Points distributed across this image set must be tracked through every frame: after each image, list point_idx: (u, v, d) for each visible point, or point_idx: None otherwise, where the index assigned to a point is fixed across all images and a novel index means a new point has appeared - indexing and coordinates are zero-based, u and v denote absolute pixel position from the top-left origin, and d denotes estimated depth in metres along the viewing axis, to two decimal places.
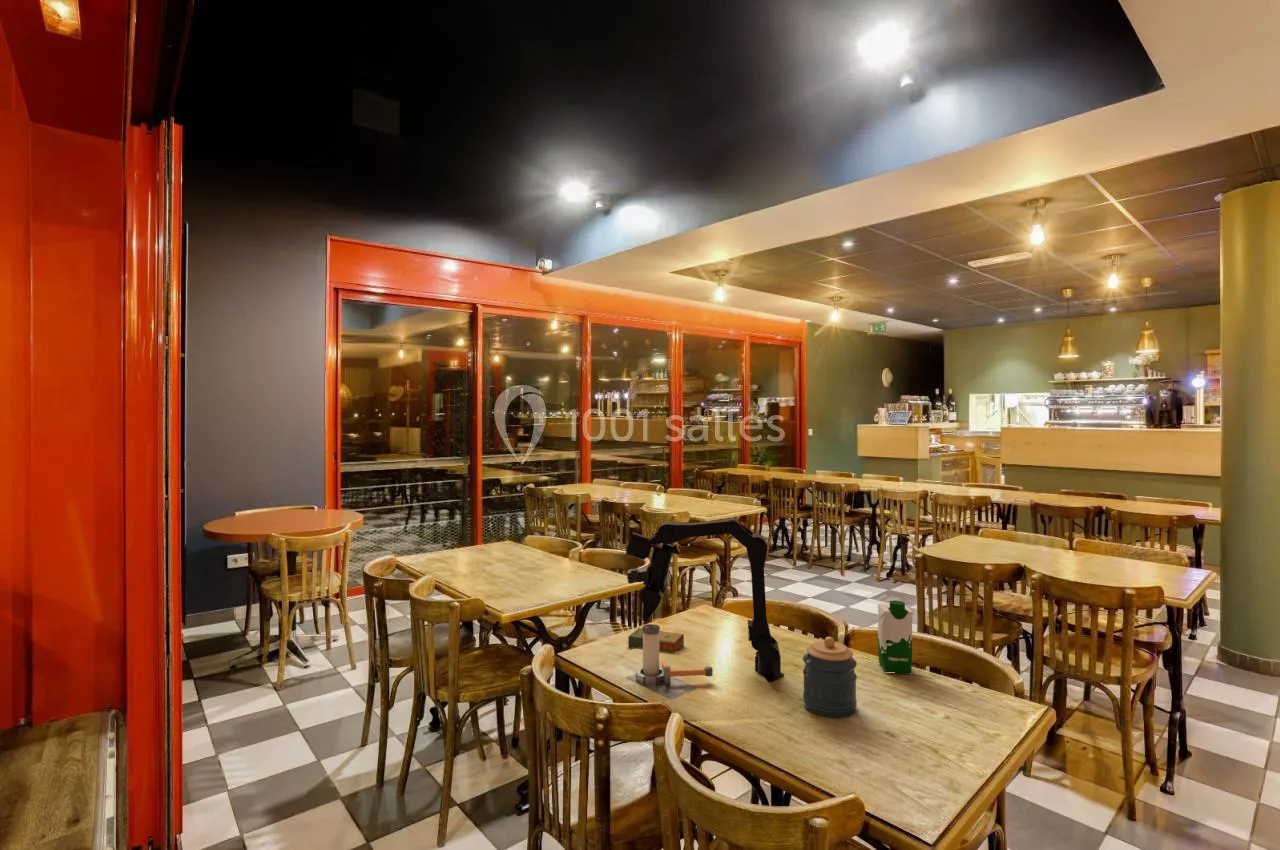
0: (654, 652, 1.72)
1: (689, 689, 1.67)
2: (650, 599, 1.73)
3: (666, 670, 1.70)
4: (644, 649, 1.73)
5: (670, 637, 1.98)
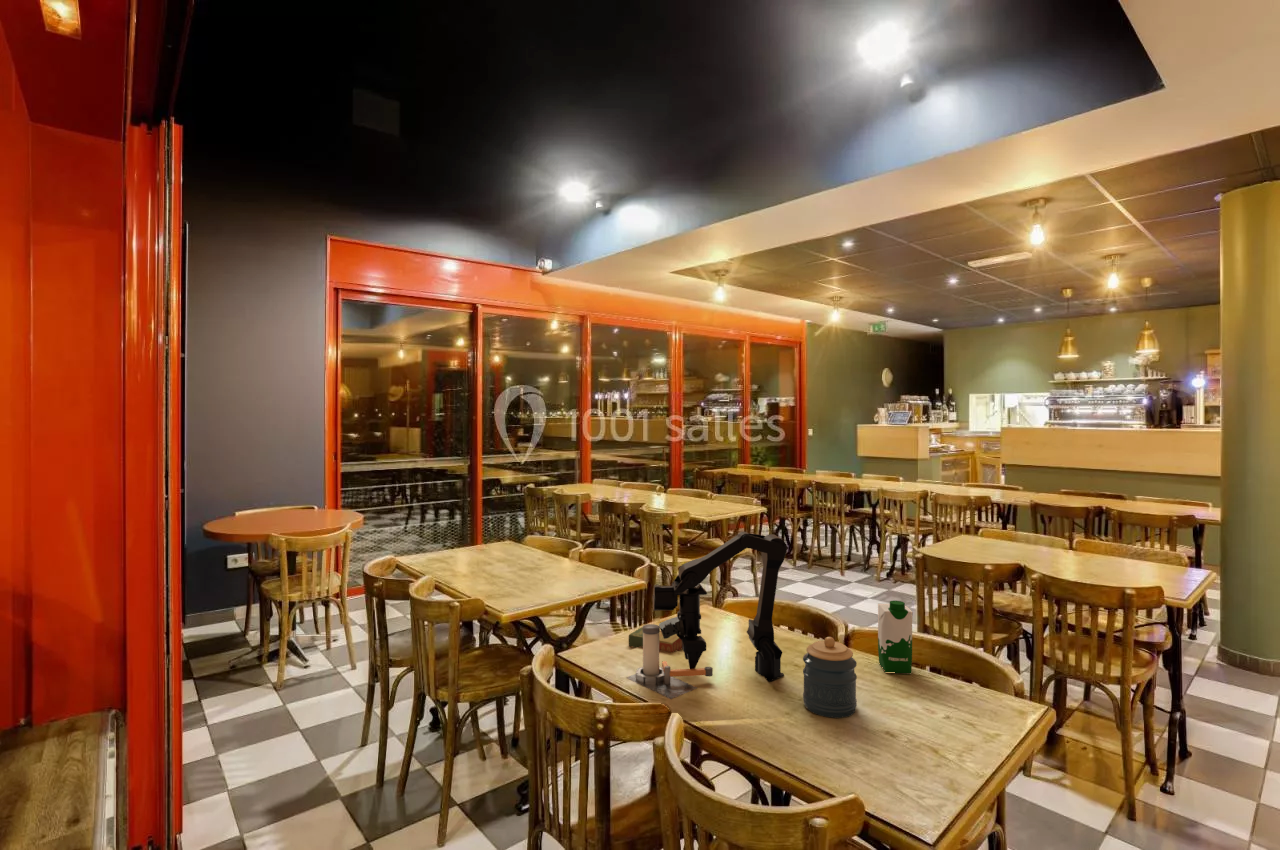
0: (654, 652, 1.72)
1: (689, 689, 1.67)
2: (696, 649, 1.67)
3: (666, 670, 1.70)
4: (644, 649, 1.73)
5: (669, 637, 1.98)
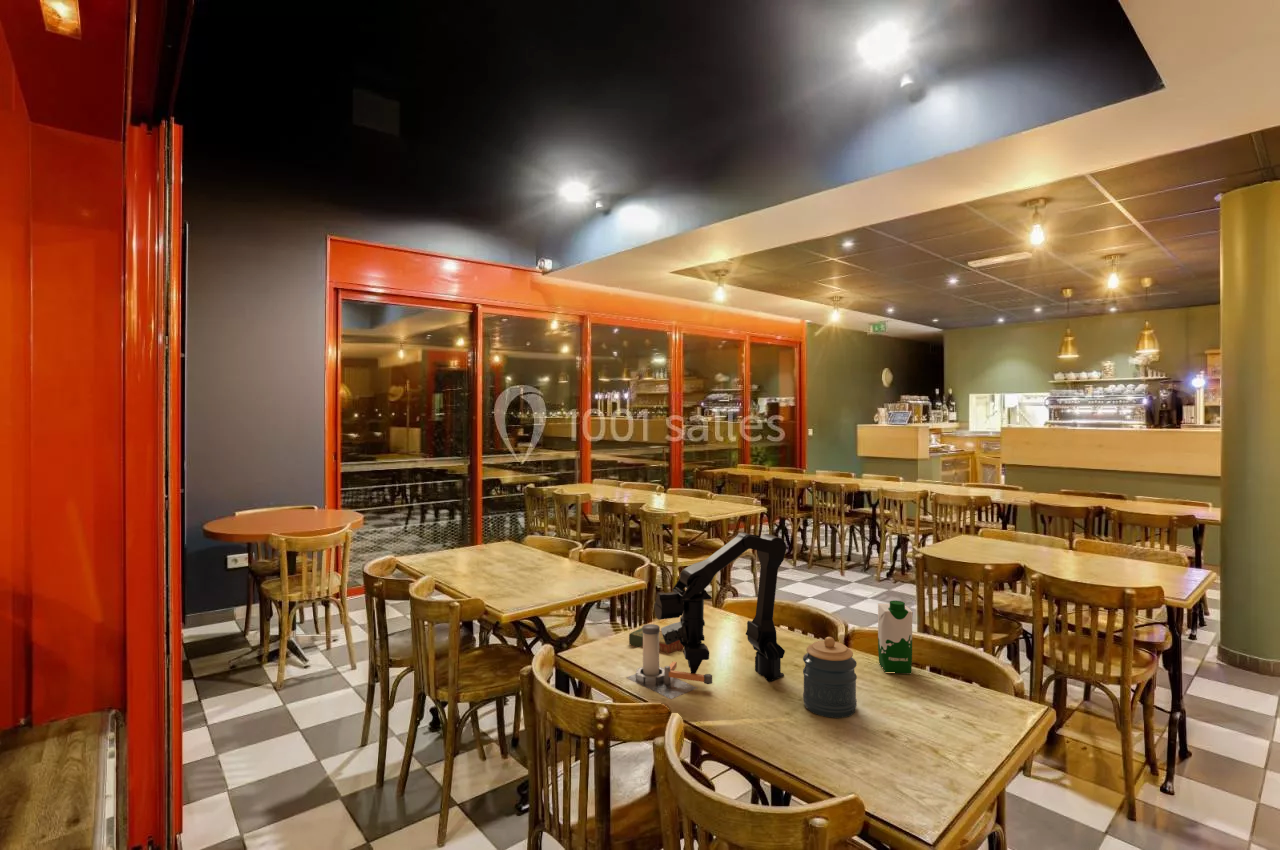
0: (654, 652, 1.72)
1: (689, 689, 1.67)
2: (699, 657, 1.62)
3: (665, 670, 1.70)
4: (644, 649, 1.73)
5: None
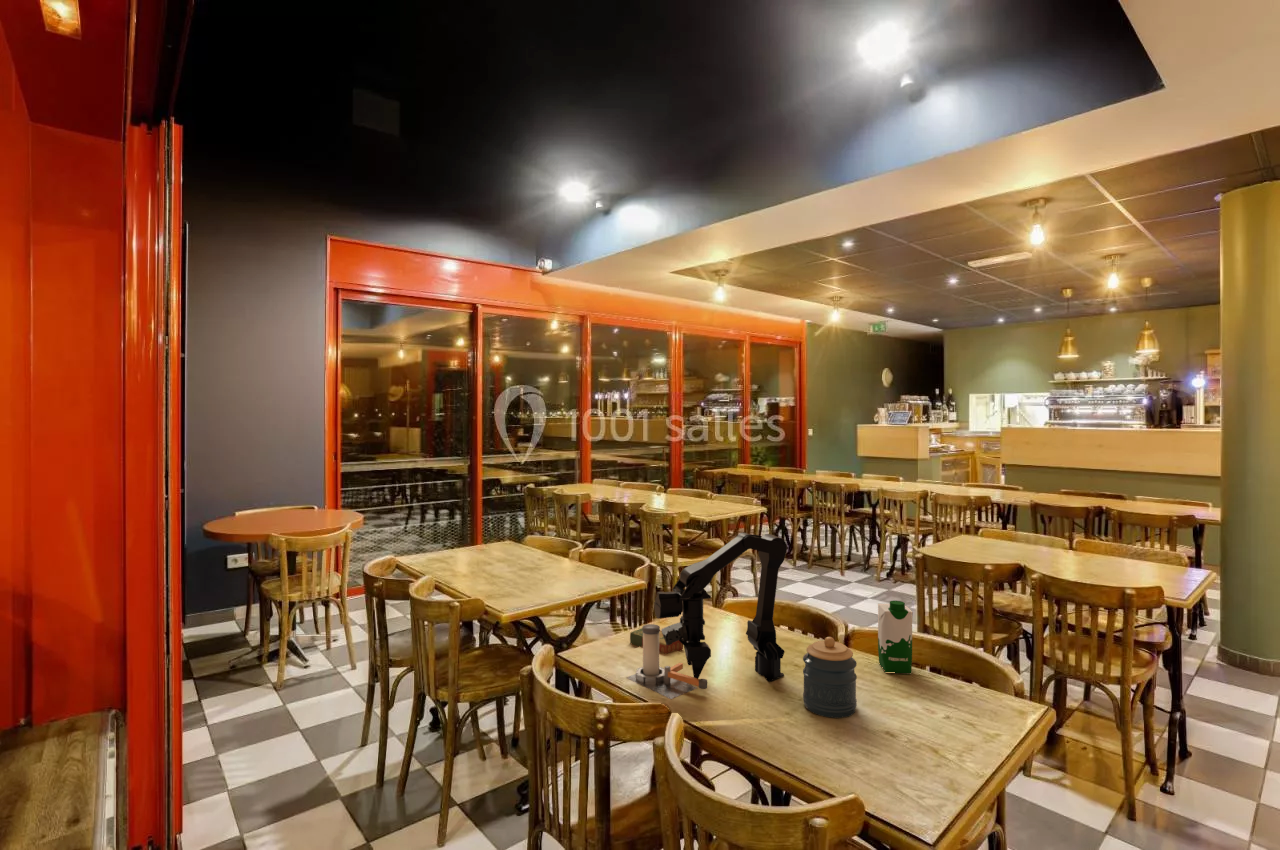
0: (654, 652, 1.72)
1: (689, 689, 1.67)
2: (700, 655, 1.62)
3: None
4: (644, 649, 1.73)
5: None
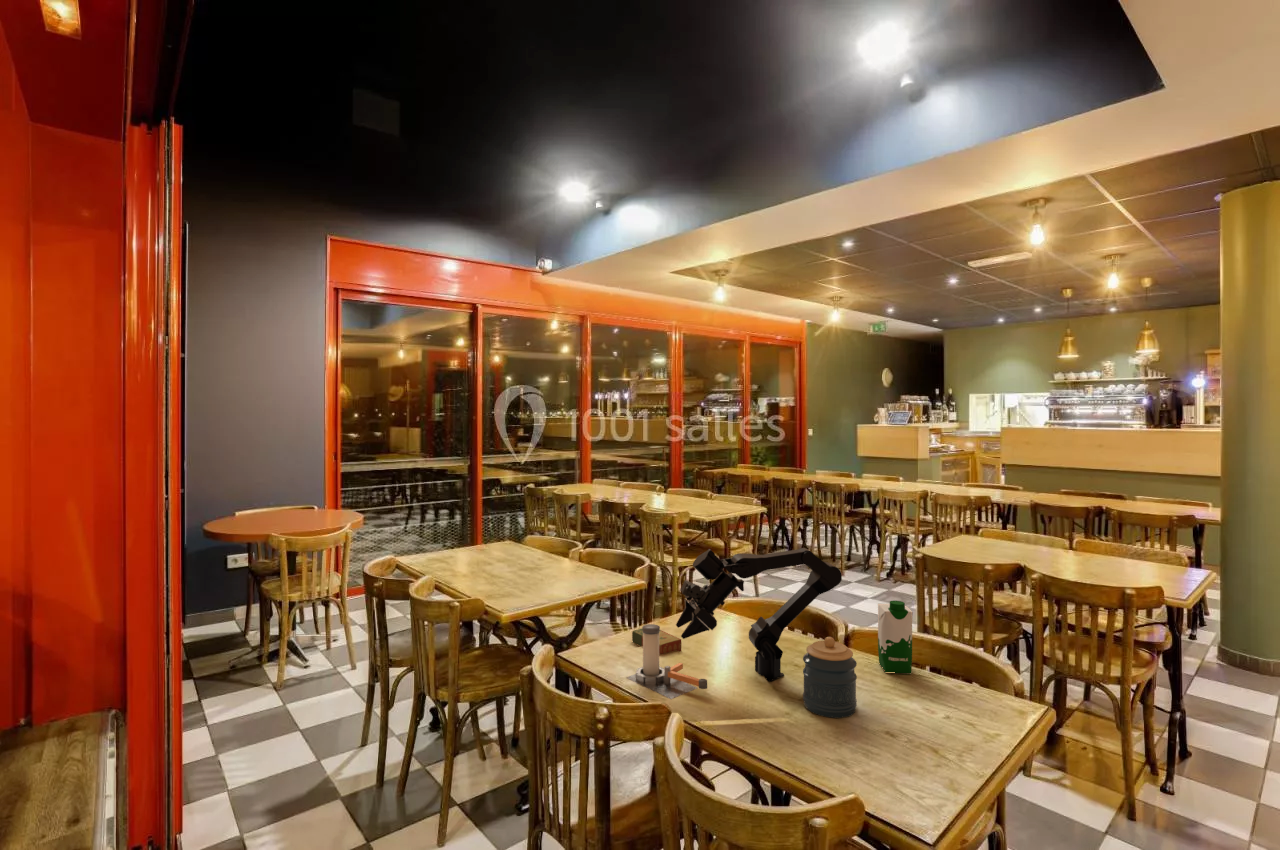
0: (654, 652, 1.72)
1: (689, 689, 1.67)
2: (706, 622, 1.66)
3: None
4: (644, 649, 1.73)
5: (664, 639, 1.96)
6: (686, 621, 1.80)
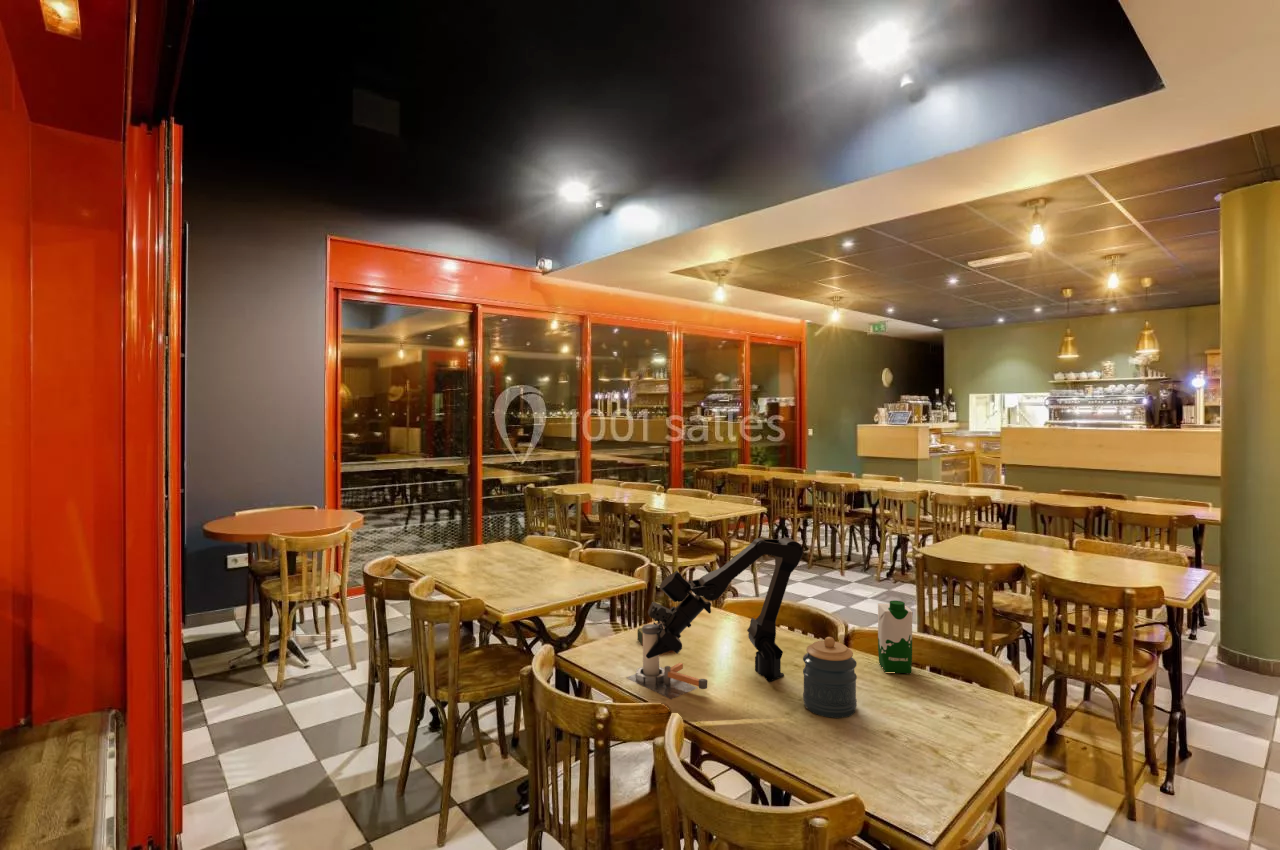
0: None
1: (689, 689, 1.67)
2: (671, 646, 1.65)
3: None
4: (644, 649, 1.73)
5: None
6: None
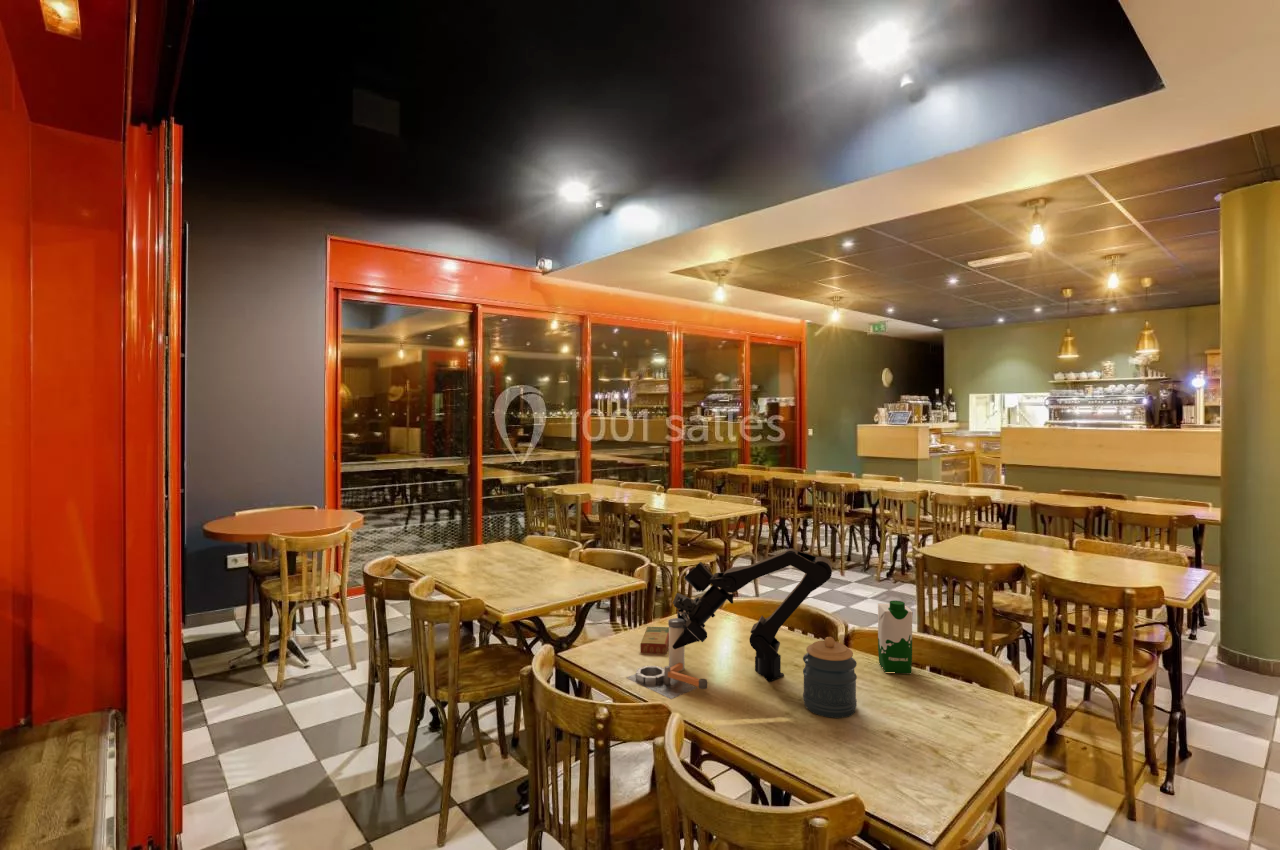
0: None
1: (689, 689, 1.67)
2: (697, 634, 1.72)
3: None
4: (670, 642, 1.80)
5: (652, 639, 1.96)
6: None
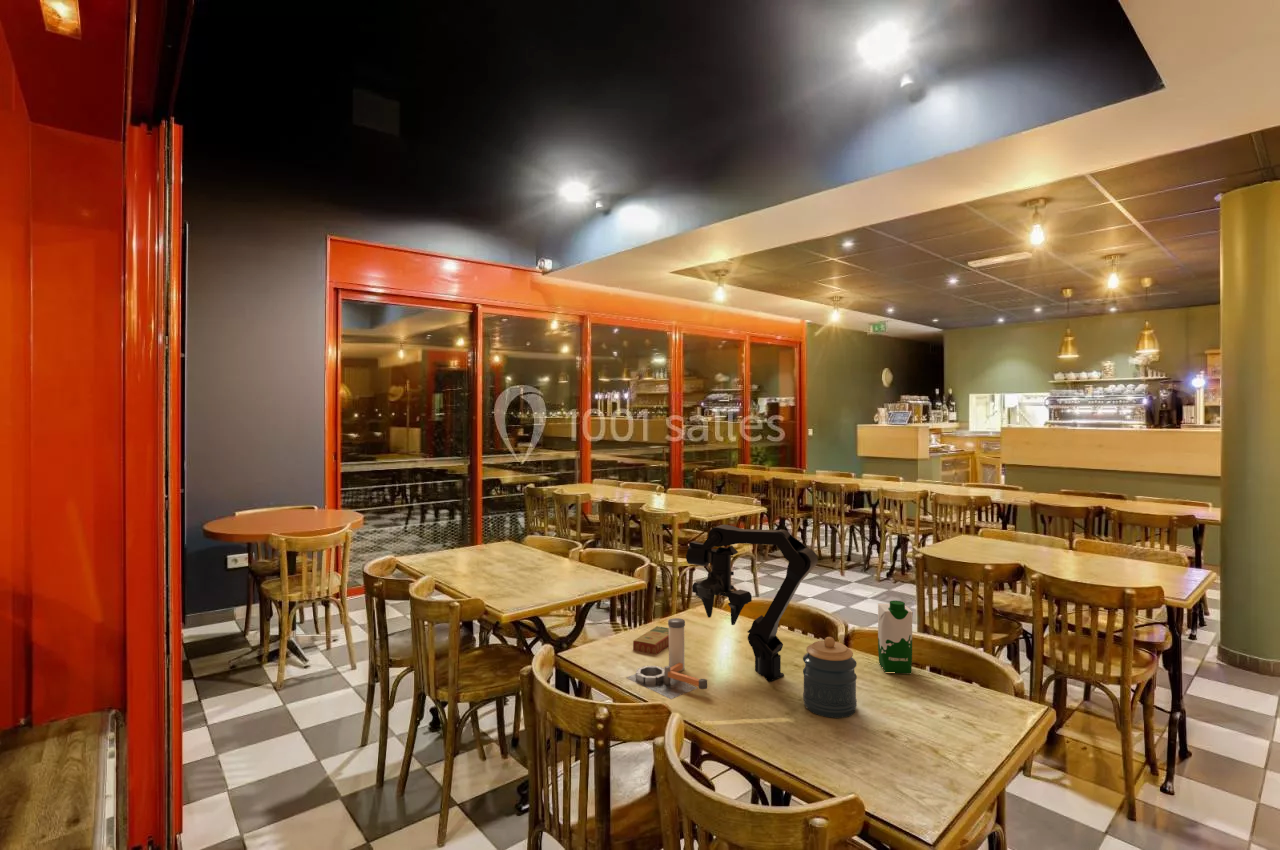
0: (680, 645, 1.79)
1: (689, 689, 1.67)
2: (746, 600, 1.78)
3: None
4: (670, 642, 1.80)
5: (646, 638, 1.97)
6: (711, 607, 1.89)
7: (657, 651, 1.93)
